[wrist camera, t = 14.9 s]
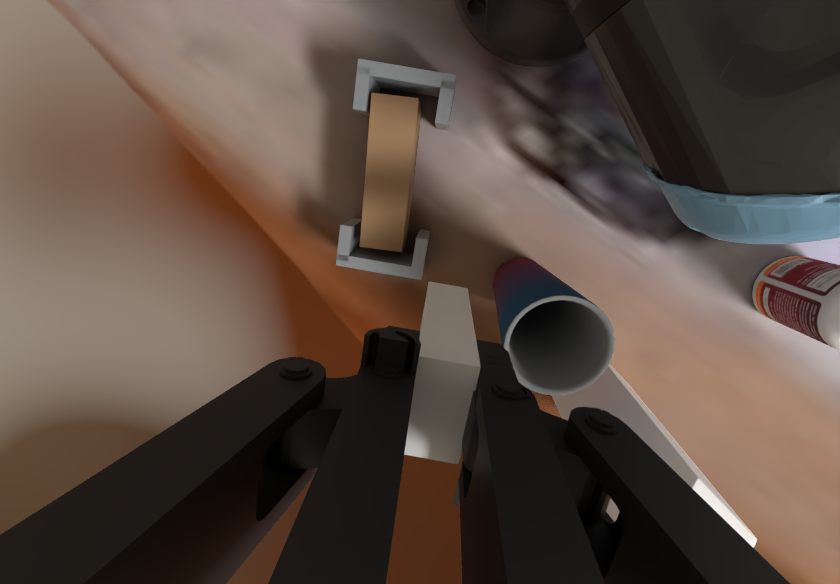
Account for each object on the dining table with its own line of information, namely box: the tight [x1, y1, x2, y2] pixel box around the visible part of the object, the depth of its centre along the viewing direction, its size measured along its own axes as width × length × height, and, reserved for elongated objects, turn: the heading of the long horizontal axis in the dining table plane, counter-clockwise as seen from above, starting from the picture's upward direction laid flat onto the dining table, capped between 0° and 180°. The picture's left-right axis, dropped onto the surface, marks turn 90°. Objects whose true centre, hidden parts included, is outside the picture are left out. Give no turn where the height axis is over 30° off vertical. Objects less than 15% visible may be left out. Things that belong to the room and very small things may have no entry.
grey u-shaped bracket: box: [353, 58, 456, 130], centre depth 34 cm, size 4×7×5 cm, turn 81°
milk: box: [551, 364, 757, 548], centre depth 33 cm, size 6×6×22 cm
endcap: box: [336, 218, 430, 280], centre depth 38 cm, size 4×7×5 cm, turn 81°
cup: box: [493, 258, 615, 395], centre depth 34 cm, size 7×7×15 cm
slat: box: [360, 93, 422, 252], centre depth 36 cm, size 12×4×5 cm, turn 173°
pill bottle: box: [752, 256, 840, 350], centre depth 34 cm, size 6×6×11 cm
